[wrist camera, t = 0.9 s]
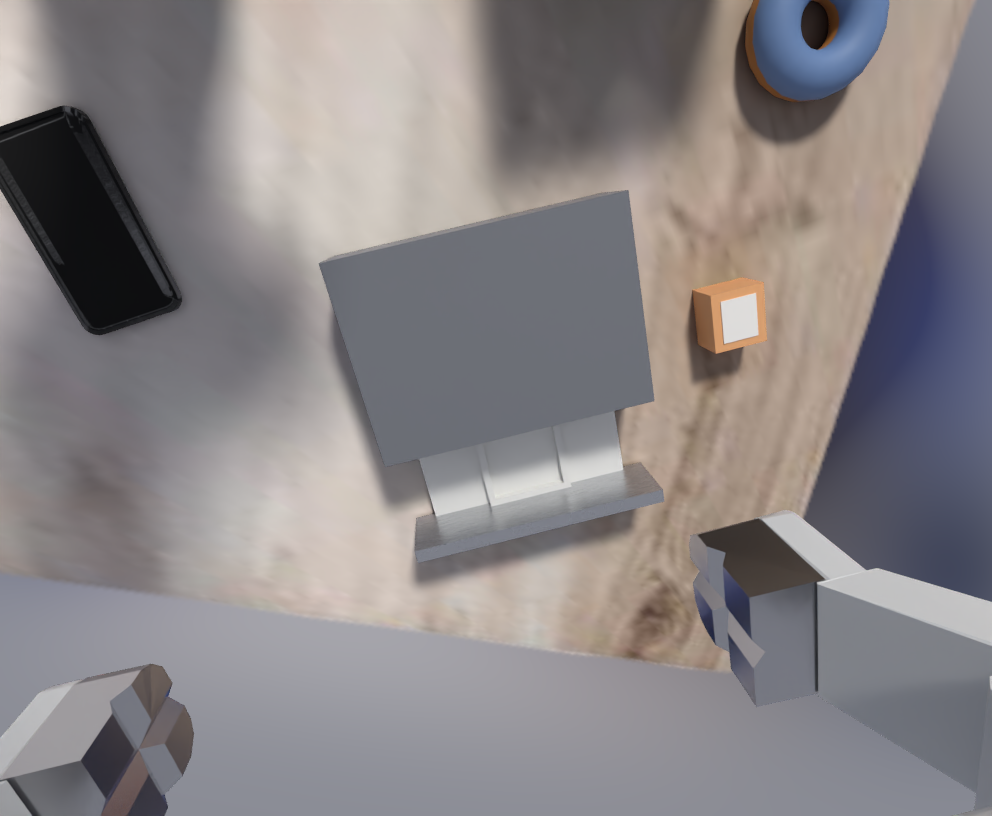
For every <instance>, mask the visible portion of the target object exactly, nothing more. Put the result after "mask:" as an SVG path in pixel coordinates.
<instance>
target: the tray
mask: <svg viewBox="0 0 992 816" xmlns="http://www.w3.org/2000/svg"><path fill="white" fill-rule="evenodd" d="M419 461H420V465H421V468H422V471H423V475H424V478H425V481H426V485H427V488H428V491H429V495H430V498H431V501H432V505H433V508H434V511H435V513H434V514H430V515H426V516H422V517H418V518H416V534H415V555H416V558H417V561H418V563H420V562H424V561H428V560H432V559H436V558H440V557H444V556H448V555H452V554H456V553H460V552H464V551H468V550H472V549H476V548H480V547H484V546H488V545H492V544H496V543H500V542H504V541H508V540H512V539H516V538H520V537H524V536H528V535H532V534H536V533H540V532H544V531H548V530H552V529H556V528H560V527H564V526H568V525H572V524H576V523H580V522H584V521H588V520H592V519H596V518H600V517H604V516H608V515H612V514H616V513H620V512H624V511H628V510H632V509H636V508H640V507H644V506H648V505H652V504H656V503H660V502H664V495H663V489H662V488H661V487H660V486H659V484H658V483H657V482H656V481H655V479H654V478H653V477H652V476H651V474H650V473H649V472H648V471H647V470H646V468H645V467H644V466H643V465H642V463H641V462H640V463H636V464H632V465H628V466H624V467H623V464H622V458H621V451H620V445H619V438H618V432H617V425H616V419H615V412H614V411H612V412H608V413H603V414H599V415H595V416H591V417H587V418H583V419H579V420H575V421H571V422H567V423H563V424H559V425H555V426H551V427H547V428H542V429H538V430H534V431H530V432H526V433H522V434H518V435H514V436H510V437H506V438H502V439H498V440H494V441H490V442H486V443H481V444H477V445H473V446H469V447H465V448H461V449H457V450H453V451H449V452H445V453H441V454H437V455H433V456H429V457H425V458H420V459H419Z"/></svg>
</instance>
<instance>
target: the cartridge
mask: <svg viewBox="0 0 992 816" xmlns="http://www.w3.org/2000/svg"><path fill="white" fill-rule="evenodd" d="M692 291H693V300H694V310H695V320H696V329H697V339H698V345H700V346H702V347H704V348H706V349H708V350H709V351H711V352H713V353H715V354H717V353H721V352H725V351H729V350H733V349H736V348H740V347H744V346H748V345H752V344H756V343H760V342H764V341H767V333H766V315H765V298H764V282H760V281H756V280H751V279H747V278H738V279H734V280H730V281H726V282H722V283H718V284H714V285H711V286H707V287H703V288H699V289H695V290H692Z"/></svg>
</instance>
